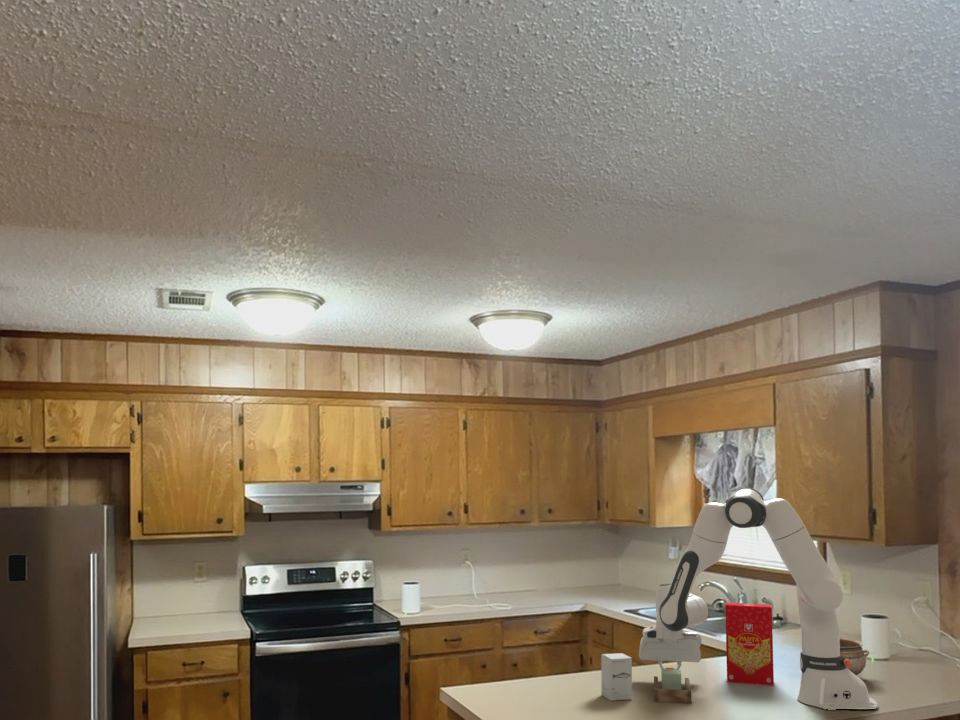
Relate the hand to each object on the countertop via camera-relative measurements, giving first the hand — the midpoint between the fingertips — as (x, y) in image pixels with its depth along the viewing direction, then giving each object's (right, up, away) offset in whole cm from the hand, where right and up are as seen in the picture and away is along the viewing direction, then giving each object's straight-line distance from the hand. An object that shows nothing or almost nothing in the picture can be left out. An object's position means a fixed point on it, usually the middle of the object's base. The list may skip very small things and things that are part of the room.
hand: (670, 674), depth 295 cm
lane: (-3, 0, -18) cm, 18 cm away
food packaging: (+27, -2, -1) cm, 27 cm away
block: (-1, -1, -8) cm, 8 cm away
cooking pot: (+57, -3, +3) cm, 57 cm away
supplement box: (-21, 0, -21) cm, 29 cm away
